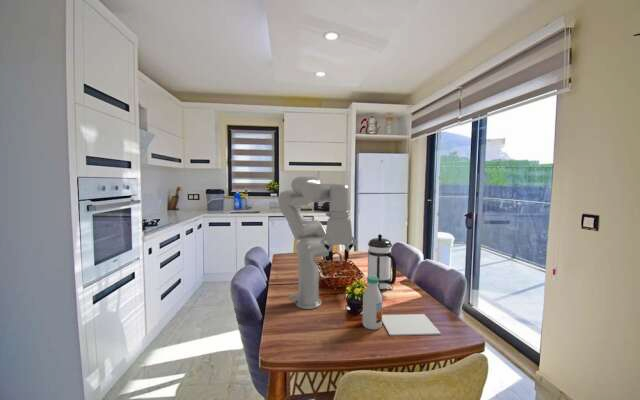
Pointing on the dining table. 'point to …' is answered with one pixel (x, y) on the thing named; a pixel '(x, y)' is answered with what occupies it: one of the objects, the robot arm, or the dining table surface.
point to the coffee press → (381, 262)
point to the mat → (409, 325)
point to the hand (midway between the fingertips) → (338, 260)
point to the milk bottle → (372, 305)
